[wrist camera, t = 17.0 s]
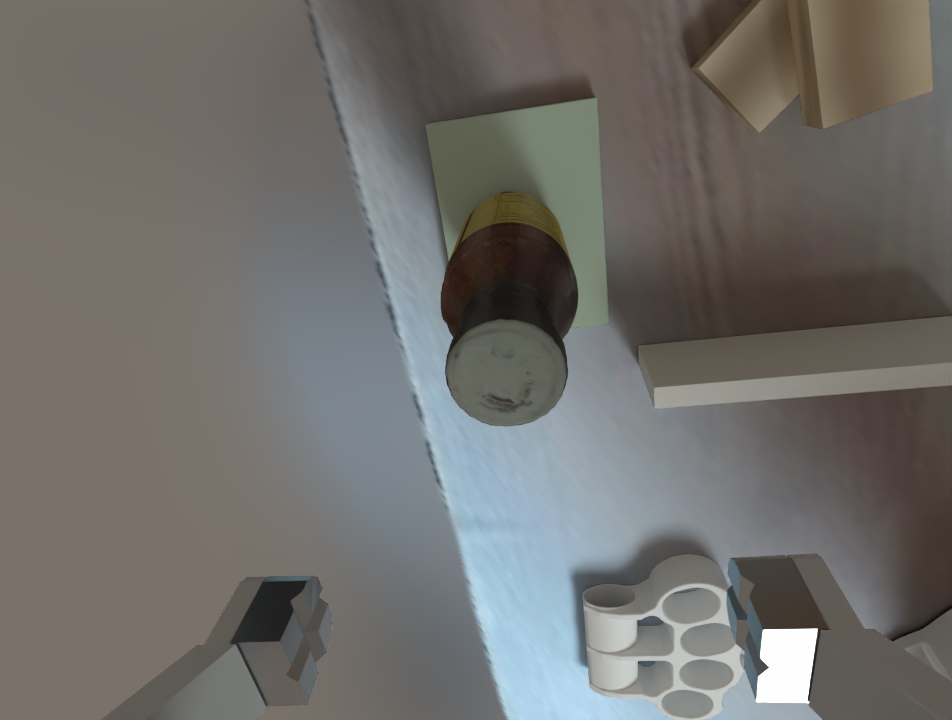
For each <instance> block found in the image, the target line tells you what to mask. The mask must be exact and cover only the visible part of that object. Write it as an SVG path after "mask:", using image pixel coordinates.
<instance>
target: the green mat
mask: <svg viewBox="0 0 952 720" xmlns="http://www.w3.org/2000/svg"><path fill="white" fill-rule="evenodd" d="M425 127H426V133H427V139H428V144H429V150H430V156H431V162H432V167H433V173H434V179H435V185H436V190H437V196H438V202H439V207H440V213H441V219H442V225H443V230H444V236H445V242H446V247H447V253H448V259H449V260H450V257H451V255H452V252H453V250H454V247H455V245H456V242H457V240H458V237H459V234H460V232H461V230H462V227H463V225H464V223H465V221H466V219H467V218H468V216H469V215H470V214H471V213H472V211H473V210H474V209H475V207H476V206H478V205H479V204H480V203H481V202H483V201H484V200H486V199H488V198H490V197H492V196H495V195H498V194H501V193H502V192H515V193H522V194H526V195H531V196H533V197H534V198H536V199H538V200H540V201H541V202H542V203H543V204H545V205H546V206H547V207H548V208H549V209H550V210H551V212H552V213H553V214H554V216H555V217H556V219H557V221H558V223H559V225H560V228H561V231H562V234H563V237H564V241H565V244H566V247H567V251H568V254H569V257H570V260H571V263H572V266H573V269H574V272H575V276H576V279H577V286H578V307H577V311H576V315H575V318H574V321H573V324H572V326H571V328H580V327H590V326H600V325H609V314H608V295H607V276H606V257H605V238H604V219H603V201H602V182H601V163H600V144H599V125H598V106H597V98H596V97H593V98H586V99H580V100H573V101H567V102H561V103H554V104H548V105H542V106H535V107H529V108H523V109H516V110H510V111H503V112H497V113H491V114H484V115H478V116H472V117H465V118H459V119H452V120H446V121H440V122H433V123H428V124H426V125H425Z"/></svg>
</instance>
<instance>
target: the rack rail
mask: <svg viewBox="0 0 952 720" xmlns="http://www.w3.org/2000/svg"><path fill="white" fill-rule="evenodd" d="M638 358H639V367H640V370H641V372H642V375H643V378H644V381H645V384H646V386H647V389H648V392H649V395H650V398H651V400H652V403H653V406H654V409H659V408H672V407H685V406H697V405H710V404H722V403H735V402H748V401H760V400H773V399H785V398H798V397H810V396H823V395H836V394H848V393H861V392H873V391H886V390H899V389H911V388H924V387H936V386H949V385H952V316H944V317H933V318H923V319H912V320H902V321H891V322H881V323H870V324H860V325H849V326H839V327H828V328H818V329H807V330H797V331H786V332H776V333H765V334H754V335H744V336H733V337H723V338H712V339H702V340H691V341H681V342H670V343H660V344H649V345H639V346H638Z"/></svg>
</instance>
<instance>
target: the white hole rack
mask: <svg viewBox="0 0 952 720" xmlns="http://www.w3.org/2000/svg"><path fill="white" fill-rule="evenodd" d="M689 588H700V589H698V590H695V591H691V592H687V593H682V594H672V593H674V592H677V591H681V590H685V589H689ZM728 589H729V586H728V584H727V581H726V578H725V576H724V573H723V570H722V569H721V567H720V566H719V565H718V564H717V563H716V562H714V561H713V560H711V559H709V558H706V557H703V556H700V555H692V554H686V555H678V556H674V557H671V558H668V559H666V560H664V561H662V562H661V563H659V564H658V565H657V566H656V567H655V568H654V569H653V570H652V571H651V573H650V575H649V578H648V579H647V580H645V581H643V582H641V583H639V584H637V585H618V584H601V585H596V586H593V587H591V588H588V589H587V590H585V591H584V593H583V594H582V595H583V607H584V620H585V633H586V647H587V660H588V675H589V686H590V688H591V689H592V690H593V691H595V692H597V693H599V694H601V695H604V696H608V697H617V698H623V699H626V698H643V699H646V700H648V701H650V702H653V703H655V705H656V707H657V708H658V710H659V711H660V712H661V713H662V714H664V715H665V716H667V717H669V718H672V719H675V720H705V719H708V718H711V717H713V716H715V715H716V714H718V713H719V712H720V711H721V710H722V709H723V703H722V697H723V695H724V693H725V692H726V691H727V690H728V689H729V688H730V687H732V686H733V685H735V684H737V682H738V680H739V678H740V677H741V675H742V673H743V671H744V655H742V654H741V651H742V649H741V648H740V647H739V646H738V645H737V644H736V643H735V640H734V637H733V634H732V631H731V627H730V623H729V620H728V612H727V604H726V602H727V590H728ZM648 616H657V617H659V618H660V619H661V620H662V621H664V623H663V624H661V625H658V626H637V620H642V619H644V618H646V617H648ZM708 623H709V624H708ZM703 624H705V625H703ZM698 625H700V626H698ZM638 661H656V662H655V663H654V664H652V665H651V666H647V667H646V666H642V665H639V664H638Z"/></svg>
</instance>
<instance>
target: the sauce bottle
mask: <svg viewBox="0 0 952 720" xmlns="http://www.w3.org/2000/svg"><path fill="white" fill-rule="evenodd" d="M577 307H578V286H577V279H576V276H575V272H574V269H573V266H572V263H571V260H570V257H569V254H568V251H567V247H566V244H565V241H564V237H563V234H562V231H561V228H560V225H559V223H558V221H557V219H556V217H555V216H554V214H553V213H552V212H551V210H550V209H549V208H548V207H547V206H546V205H545V204H543V203H542V202H541V201H540V200H538V199H536V198H534V197H533V196H531V195H526V194H522V193H515V192H502V193H501V194H498V195H495V196H492V197H490V198H488V199H486V200H484V201H483V202H481V203H480V204H479V205H478V206H476V207H475V209H474V210H473V211H472V213H471V214H470V215H469V216H468V218H467V219H466V221H465V223H464V225H463V227H462V230H461V232H460V234H459V237H458V240H457V242H456V245H455V247H454V250H453V252H452V255H451V257H450V260H449V262H448V265H447V268H446V272H445V277H444V282H443V285H442V291H441V312H442V317H443V320H444V321H445V322H446V323H447V325H448V328H449V331H450V333H451V335H452V336H453V337H454V338H453V340H452V342H451V345H450V348H449V351H448V354H447V360H446V367H445V374H446V380H447V385H448V388H449V390H450V393H451V396H452V397H453V399H454V400H455V401H456V403H457V404H458V406H459V407H460V408H461V409H463V410H464V411H465V412H466V413H467V414H468V415H469V416H471V417H473V418H475V419H477V420H479V421H480V422H482V423H486V424H489V425H493V426H516V425H522V424H526V423H529V422H533V421H535V420H537V419H538V418H540V417H542V416H544V415H546V414H547V413H548V412H549V411H550V410H551V409H552V408H554V407H555V405H556V404H557V402H558V401H559V399H560V398H561V396H562V393H563V391H564V388H565V385H566V380H567V377H568V368H567V356H566V351H565V346H564V343H563V341H562V339H563V338H564V337H565V335H566V334H567V333H568V331H569V329H570V328H571V326H572V324H573V321H574V318H575V315H576V311H577Z"/></svg>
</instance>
